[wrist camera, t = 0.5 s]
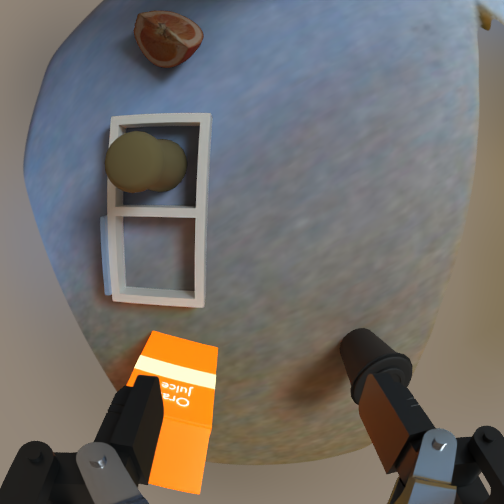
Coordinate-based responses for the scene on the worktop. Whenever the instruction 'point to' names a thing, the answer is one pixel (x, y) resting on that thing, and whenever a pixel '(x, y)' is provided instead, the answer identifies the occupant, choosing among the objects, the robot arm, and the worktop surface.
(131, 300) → the white flat rectangular frame
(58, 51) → the worktop surface
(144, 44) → the fruit slice
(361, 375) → the coffee cup
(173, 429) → the orange juice
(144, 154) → the olive rounded piece
